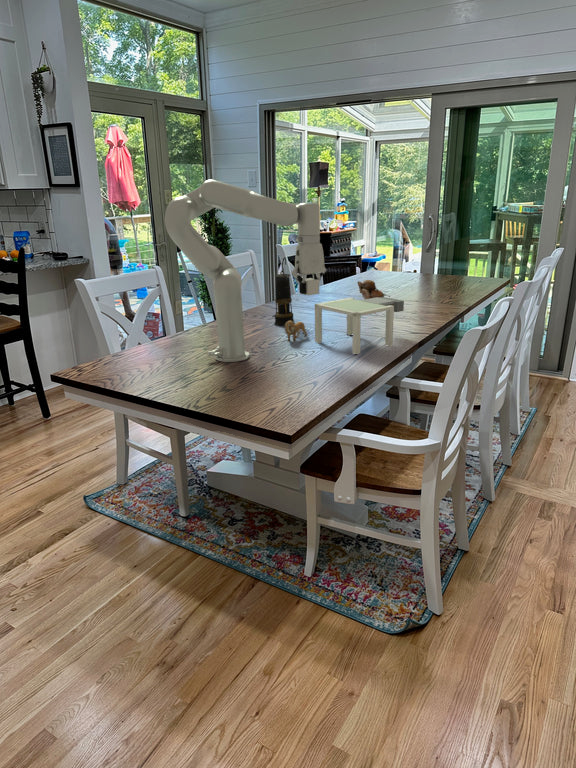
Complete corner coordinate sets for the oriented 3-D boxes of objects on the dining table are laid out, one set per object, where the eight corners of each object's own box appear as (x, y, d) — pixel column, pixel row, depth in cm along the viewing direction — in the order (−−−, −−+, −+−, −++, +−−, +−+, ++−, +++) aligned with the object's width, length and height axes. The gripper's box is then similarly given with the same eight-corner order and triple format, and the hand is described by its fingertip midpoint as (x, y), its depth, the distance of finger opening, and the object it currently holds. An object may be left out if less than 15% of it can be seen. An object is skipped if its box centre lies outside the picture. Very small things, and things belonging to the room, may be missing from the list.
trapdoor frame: (356, 355, 197) (356, 313, 192) (315, 342, 216) (314, 304, 211) (392, 345, 208) (393, 306, 203) (350, 334, 226) (350, 297, 221)
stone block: (308, 295, 189) (308, 281, 188) (299, 293, 193) (299, 279, 192) (319, 293, 192) (319, 279, 190) (310, 291, 196) (310, 278, 194)
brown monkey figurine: (362, 284, 304) (350, 280, 291) (389, 279, 295) (378, 274, 283) (363, 307, 303) (352, 304, 291) (390, 303, 295) (380, 299, 282)
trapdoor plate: (356, 323, 197) (357, 311, 195) (323, 315, 212) (322, 304, 210) (410, 312, 212) (411, 300, 211) (375, 305, 227) (375, 294, 226)
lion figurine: (294, 344, 214) (293, 322, 211) (282, 343, 216) (281, 321, 213) (309, 335, 226) (309, 314, 223) (298, 334, 229) (297, 313, 226)
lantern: (271, 325, 246) (268, 258, 236) (280, 320, 254) (278, 255, 244) (288, 326, 242) (286, 258, 232) (297, 322, 250) (296, 256, 240)
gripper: (295, 242, 179) (296, 297, 185) (334, 239, 188) (334, 291, 194) (282, 241, 185) (283, 294, 191) (321, 238, 194) (321, 288, 200)
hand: (309, 292), depth 193 cm, fingers closed on stone block, 5 cm apart
